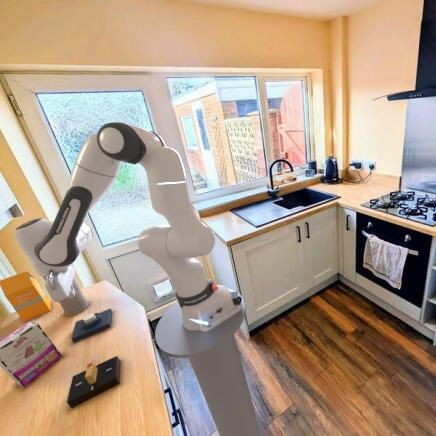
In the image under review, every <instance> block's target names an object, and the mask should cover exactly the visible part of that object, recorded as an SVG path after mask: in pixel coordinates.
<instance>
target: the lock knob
mask: <svg viewBox="0 0 436 436" xmlns="http://www.w3.org/2000/svg"><path fill="white" fill-rule="evenodd" d="M95 365H96V364H95V363H94V362H93V361H91V362H89V363H87V365H86V369H85V370H86V375H85V378H86V380H87V381H88V383H89V384H90V385H91V384H93V383H96V377H97V370H98V369H97V367H96V366H95Z"/></svg>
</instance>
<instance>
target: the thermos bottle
mask: <svg viewBox="0 0 436 436" xmlns="http://www.w3.org/2000/svg"><path fill="white" fill-rule="evenodd" d="M42 279H44V282H45V281H46V279H47V278H46V276H43V277H42ZM72 284H73V287H74V290H75V292H76V293H75V297H73V298H71V299H69V298H66V299H64V300H61V301H58V302H57V303H59V305H60V307H61V309H62V310H63V311H64V313H65V314H66V316H69V317H71V316H72V317H73V316H75V315H78V314H80V313H82V312H84V311H85V310H86V309H87V308H88V307H89V302H88V300H87V299H86V296H85V295H84V293H83V291H82V290H81V287H80V286H79V284H78V283H77V281H76V279H75V277H74V278H73V282H72Z"/></svg>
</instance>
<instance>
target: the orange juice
mask: <svg viewBox="0 0 436 436" xmlns="http://www.w3.org/2000/svg"><path fill="white" fill-rule="evenodd" d="M0 288H1V290H2V293H3V295H4V297H5V298H6V300H7V301H8V302H9V304H10V305H11V307H12V308H13V309H14V311H15V312H16V313H17V315H18V316H19V317H20V318H21V320H22V321H23V323H26V322H27V321H28V322H29V321H30V320H32V319H35V318H37V317H39V316H42V315H45V314H46V313H49V312H50V311H51V304H52V303H51V300H50V299H49V298H48V295H46V293H45V291H44V290H43V288H42V287H41V285H40V284H39V282H38V281H37V279H36V278H35V277H34V276H33V275H32V274H30V272H28V271H27V270H25V271H23V272H20V273H17V274H15V275H12V276H8V277H6V278H2V279H0Z"/></svg>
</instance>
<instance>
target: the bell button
mask: <svg viewBox="0 0 436 436" xmlns="http://www.w3.org/2000/svg"><path fill="white" fill-rule="evenodd" d="M94 313H95V312H91V313H88V314H86V315H84V317H83V318H82V319H83V320H84V322H85V323H90V322H92V321H93V320H95V319H96V316H95V315H94Z"/></svg>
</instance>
